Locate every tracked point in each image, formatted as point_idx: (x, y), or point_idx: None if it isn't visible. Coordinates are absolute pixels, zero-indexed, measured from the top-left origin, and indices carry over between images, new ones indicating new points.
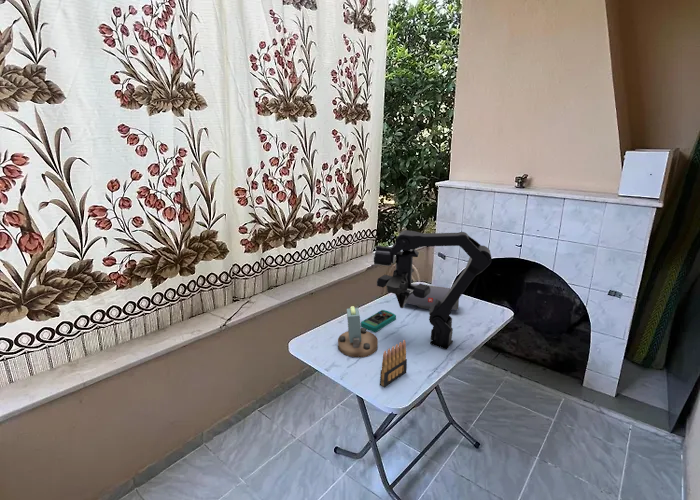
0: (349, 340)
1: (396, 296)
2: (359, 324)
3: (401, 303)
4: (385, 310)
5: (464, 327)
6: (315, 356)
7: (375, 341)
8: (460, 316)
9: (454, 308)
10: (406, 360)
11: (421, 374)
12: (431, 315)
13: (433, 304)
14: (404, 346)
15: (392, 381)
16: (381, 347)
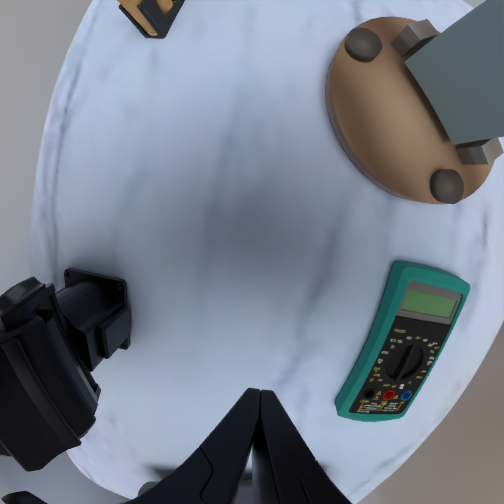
0: None
1: (339, 495)
2: (466, 16)
3: (249, 425)
4: (388, 419)
5: (100, 417)
6: None
7: (352, 116)
8: (141, 462)
9: (155, 483)
10: (121, 7)
11: (97, 65)
12: (10, 333)
13: (52, 445)
14: None
15: None
16: (317, 140)
